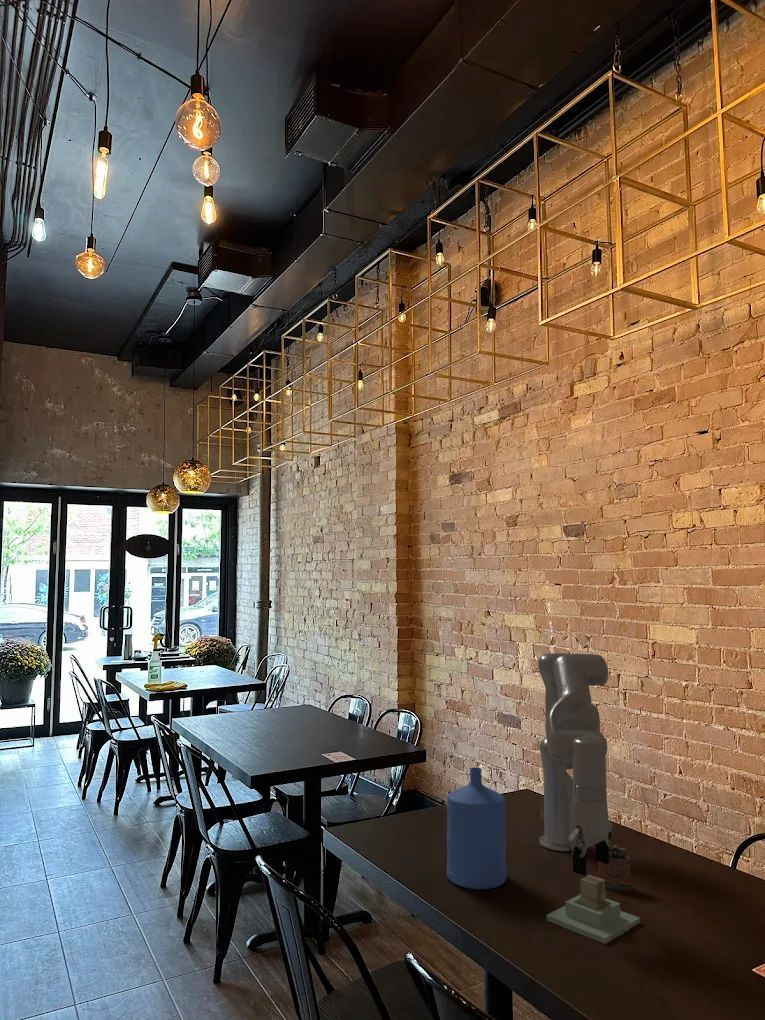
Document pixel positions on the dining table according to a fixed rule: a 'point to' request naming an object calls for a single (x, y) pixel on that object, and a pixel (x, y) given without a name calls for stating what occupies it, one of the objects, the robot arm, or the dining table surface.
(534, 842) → the dining table surface
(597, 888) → the birch peg
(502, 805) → the water jug
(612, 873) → the lighter
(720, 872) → the dining table surface
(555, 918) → the slot holder
